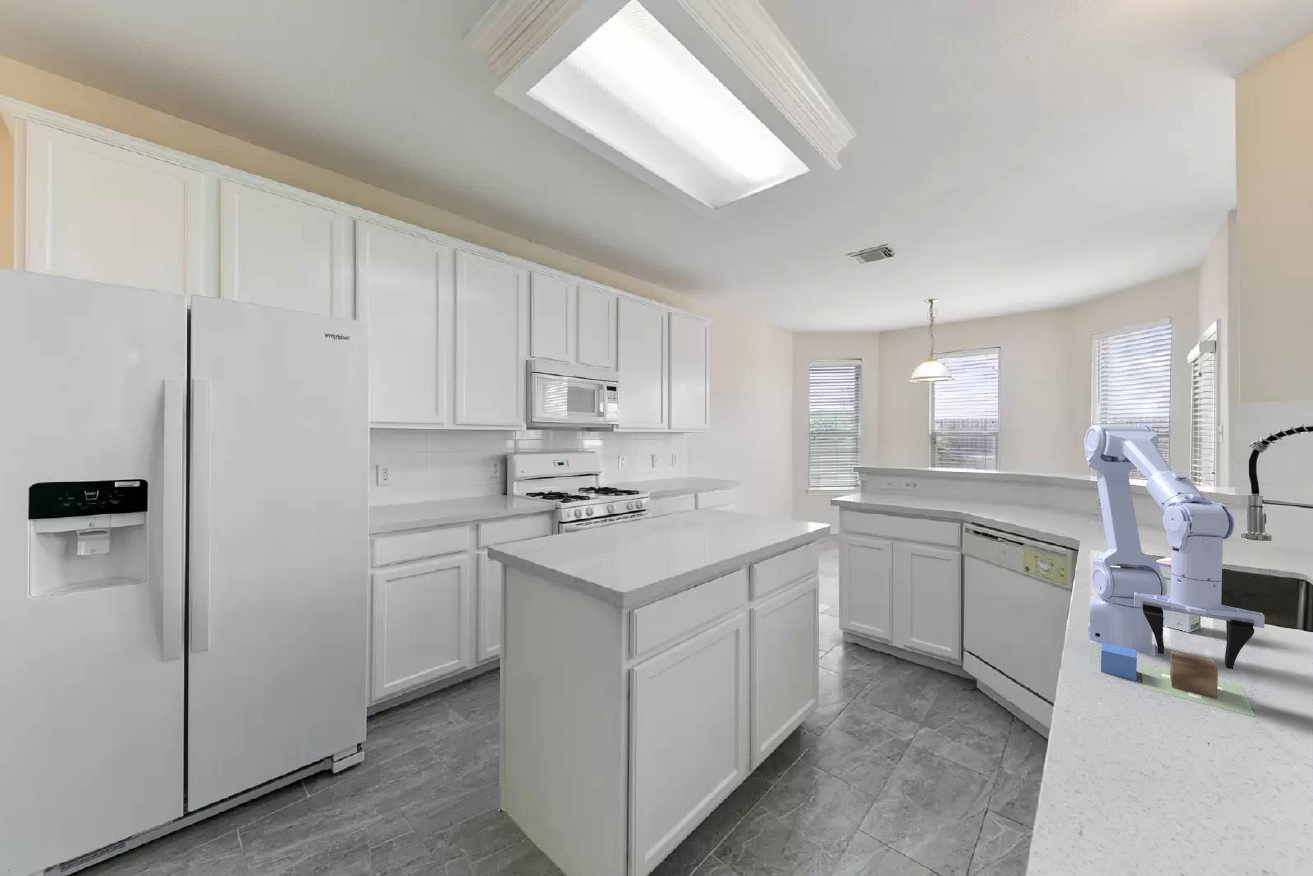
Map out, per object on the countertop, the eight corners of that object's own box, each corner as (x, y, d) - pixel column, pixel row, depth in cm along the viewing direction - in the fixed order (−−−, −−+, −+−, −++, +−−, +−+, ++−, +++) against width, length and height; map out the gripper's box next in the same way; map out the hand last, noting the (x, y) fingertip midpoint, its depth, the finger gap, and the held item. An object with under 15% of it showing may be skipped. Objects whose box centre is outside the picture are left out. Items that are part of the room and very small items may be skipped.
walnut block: (1171, 687, 83) (1172, 660, 83) (1170, 676, 87) (1170, 650, 87) (1217, 698, 80) (1217, 670, 80) (1213, 687, 84) (1214, 660, 84)
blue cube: (1100, 675, 89) (1101, 650, 89) (1101, 667, 92) (1102, 642, 92) (1136, 684, 86) (1136, 658, 86) (1135, 675, 89) (1136, 649, 89)
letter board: (1142, 691, 83) (1142, 688, 83) (1141, 667, 92) (1141, 663, 92) (1255, 720, 75) (1255, 716, 75) (1241, 690, 84) (1242, 686, 84)
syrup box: (1190, 633, 108) (1192, 565, 107) (1153, 624, 113) (1154, 558, 112) (1200, 629, 110) (1202, 562, 110) (1164, 619, 115) (1165, 556, 115)
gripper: (1135, 572, 85) (1133, 653, 85) (1269, 591, 75) (1267, 683, 76) (1134, 564, 90) (1133, 641, 91) (1260, 581, 81) (1258, 667, 81)
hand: (1193, 659), depth 83 cm, fingers open, 7 cm apart
